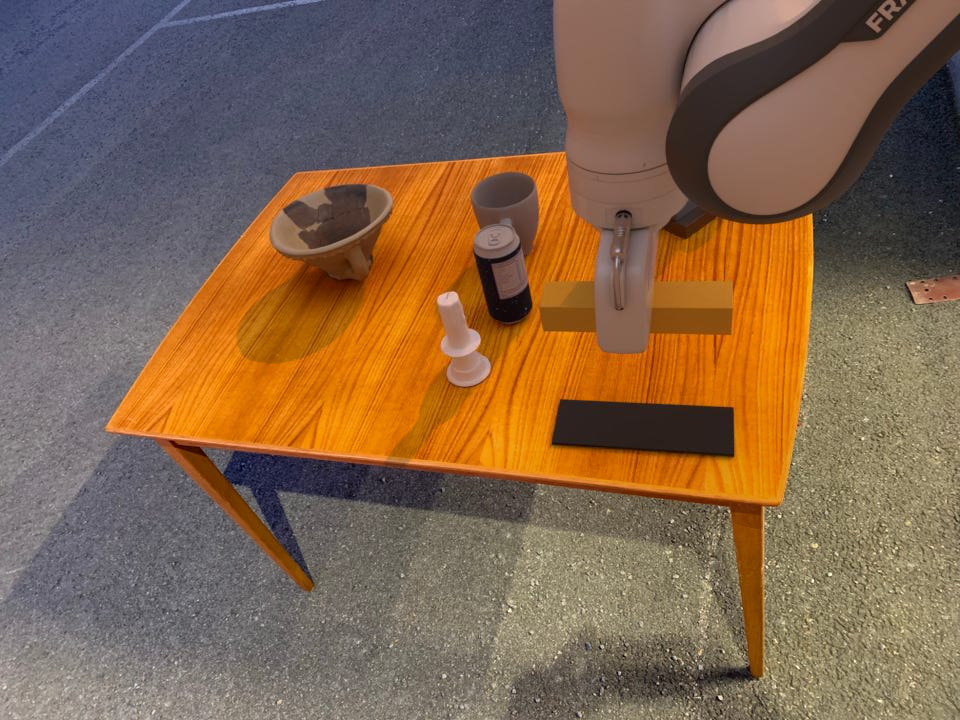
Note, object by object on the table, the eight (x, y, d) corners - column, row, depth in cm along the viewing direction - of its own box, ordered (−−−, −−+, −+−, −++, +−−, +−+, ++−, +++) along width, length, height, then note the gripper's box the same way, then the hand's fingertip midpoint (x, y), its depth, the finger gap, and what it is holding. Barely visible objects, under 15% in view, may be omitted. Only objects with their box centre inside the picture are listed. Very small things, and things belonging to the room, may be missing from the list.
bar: (731, 335, 58) (733, 308, 56) (543, 331, 63) (538, 306, 61) (730, 307, 60) (732, 280, 58) (549, 305, 65) (545, 280, 63)
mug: (484, 234, 102) (471, 177, 95) (544, 225, 101) (534, 166, 94) (482, 286, 94) (468, 227, 87) (548, 277, 92) (538, 217, 85)
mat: (733, 409, 71) (733, 406, 71) (734, 456, 67) (734, 454, 67) (560, 401, 77) (559, 398, 76) (551, 444, 73) (551, 442, 73)
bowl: (428, 268, 99) (410, 211, 92) (311, 323, 95) (284, 268, 89) (384, 216, 111) (366, 162, 104) (279, 262, 107) (254, 210, 101)
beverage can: (534, 296, 90) (520, 219, 82) (532, 326, 86) (517, 248, 78) (491, 299, 91) (473, 224, 83) (487, 329, 87) (468, 253, 79)
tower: (758, 187, 97) (765, 120, 90) (685, 239, 92) (686, 173, 85) (711, 170, 102) (714, 105, 95) (640, 218, 97) (637, 154, 90)
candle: (466, 349, 86) (443, 273, 77) (499, 364, 83) (480, 287, 74) (438, 377, 83) (411, 302, 75) (471, 393, 80) (448, 317, 72)
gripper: (665, 264, 44) (666, 406, 53) (678, 107, 57) (677, 243, 67) (566, 265, 46) (584, 402, 55) (600, 113, 59) (610, 245, 69)
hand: (635, 314), depth 61 cm, fingers closed on bar, 3 cm apart
